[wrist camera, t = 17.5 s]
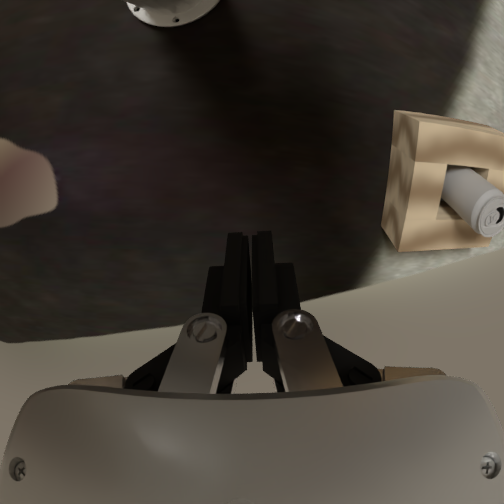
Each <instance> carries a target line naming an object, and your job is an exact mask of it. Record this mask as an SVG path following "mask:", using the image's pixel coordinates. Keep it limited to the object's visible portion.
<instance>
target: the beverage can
mask: <svg viewBox="0 0 504 504" xmlns="http://www.w3.org/2000/svg"><path fill="white" fill-rule="evenodd" d="M441 198H442V199H443V200H444V201H445V202H446V203H447V204H448V205H449V206H451V207H452V208H453V209H454V210H455V211H456V212H457V213H458V214H459V215H460V216H461V217H462V219H463V220H464V221H465V222H466V223H467V224H468V225H469V226H470V227H471V228H472V229H473V230H474V231H475V232H476V233H478V234H482V235H483V236H484V237H492V236H495V235H496V234H498V233H499V232H500V231H501V230H502V229H503V228H504V194H503V193H502V192H501V191H500V190H499V189H498V188H496V187H495V186H494V185H492V184H491V183H490V182H488V181H487V180H486V179H484V178H483V177H482V176H480V175H479V174H478V173H476V172H475V171H473V170H472V169H471V168H469V167H468V166H461V165H451V164H447V169H446V174H445V179H444V185H443V190H442V194H441Z"/></svg>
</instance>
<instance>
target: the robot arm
mask: <svg viewBox="0 0 504 504" xmlns="http://www.w3.org/2000/svg"><path fill="white" fill-rule="evenodd" d="M123 1H125V2H126V3H127V5H128V8H129V9H130V11H131V12H132V13H133V15H135V16H136V17H137V18H138V19H139V20H141V21H143V22H145V23H147V24H151V25H154V26H159V27H176V26H182V25H185V24H189V23H191V22H193V21H196V20H198V19H200V18H201V17H203V16H204V15H206V14H208V13H209V12H210V11H211V10H212V9H213V8H214V7H215V6H216V5H217V4H218V2H219V1H220V0H123ZM139 8H140V10H139V11H138V9H139ZM176 19H179V22H176ZM257 233H258V235H252V281H251V268H250V256H249V243H248V236H243V234H242V232H238V233H228V238H227V246H226V255H225V263H224V266H212V267H209V272H208V277H207V283H206V289H205V295H204V301H203V307H202V313H201V314H197V315H195V316H193V317H191V318H190V319H188V320H187V321H186V322H185V324H184V326H183V328H182V330H181V333H180V335H179V338H178V340H177V343H176V344H174V345H172V346H171V347H169V348H168V349H167V350H165V351H164V352H162V353H161V354H159V355H158V356H156V357H155V358H153V359H152V360H150V361H149V362H147V363H146V364H144V365H143V366H141V367H140V368H138V369H137V370H135V371H134V372H133V373H131V374H130V375H129V377H124V376H123V375H114V376H105V377H96V378H85V379H77V380H73V381H72V382H70V383H69V384H68V385H60V386H54V387H49V388H45V389H43V390H40V391H38V392H35V393H34V394H32V395H31V396H30V397H29V398H28V399H27V400H26V402H25V403H24V404H23V406H22V408H21V410H20V412H19V414H18V416H17V418H16V420H15V423H14V425H13V428H12V430H11V433H10V436H9V439H8V442H7V445H6V449H5V452H4V456H3V460H2V463H1V468H0V504H504V431H503V428H502V425H501V423H500V420H499V418H498V415H497V413H496V411H495V409H494V407H493V405H492V403H491V401H490V399H489V398H488V396H487V394H486V393H485V392H484V391H483V389H482V388H481V387H480V386H479V385H477V384H476V383H474V382H472V381H470V380H467V379H464V378H460V377H454V376H447V375H446V374H445V373H444V372H443V371H441V370H440V369H436V368H417V367H416V368H415V367H390V366H385V367H384V369H377V368H376V367H375V366H374V365H372V364H371V363H369V362H368V361H366V360H364V359H362V358H361V357H359V356H357V355H355V354H354V353H352V352H350V351H349V350H347V349H345V348H343V347H342V346H340V345H339V344H337V343H335V342H333V341H332V340H330V339H328V338H326V337H325V336H323V335H322V332H321V330H320V327H319V325H318V322H317V320H316V319H315V317H314V316H313V315H311V314H310V313H308V312H306V311H304V310H301V307H300V301H299V295H298V289H297V283H296V277H295V272H294V266H293V263H276V264H275V263H274V253H273V243H272V233H271V231H257ZM252 307H253V320H254V332H255V343H256V355H257V362H263V371H264V372H266V373H267V374H269V375H270V376H271V377H273V384H274V388H275V392H276V393H253V394H234V393H235V388H236V384H237V377H238V376H239V375H241V374H242V373H243V372H244V371H245V370H247V362H252Z"/></svg>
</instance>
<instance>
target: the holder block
mask: <svg viewBox="0 0 504 504" xmlns="http://www.w3.org/2000/svg"><path fill="white" fill-rule="evenodd" d="M447 164H451V165H461V166H468V167H469V168H471V169H472V170H473V171H475V172H476V173H478V174H479V175H480V176H482V177H483V178H484V179H486V180H487V181H488V182H490V183H491V184H492V185H494V186H495V187H496V188H498V189H499V190H500V191H501V192H502V193H503V194H504V133H502V132H500V131H498V130H496V129H494V128H492V127H489V126H487V125H483V124H478V123H474V122H469V121H464V120H459V119H454V118H448V117H442V116H436V115H430V114H423V113H416V112H408V111H400V110H394V122H393V135H392V146H391V156H390V165H389V174H388V182H387V189H386V196H385V203H384V210H383V216H382V222H381V226H382V228H383V229H384V231H385V232H386V234H387V235H388V237H389V239H390V240H391V242H392V243H393V245H394V247H395V248H396V250H397V251H398V252H408V251H425V250H442V249H458V248H474V247H488V246H489V244H490V241H491V238H492V237H484V236H483V235H482V234H478V233H476V232H475V231H474V230H473V229H472V228H471V227H470V226H469V225H468V224H467V223H466V222H465V221H464V220H463V219H462V217H461V216H460V215H459V214H458V213H457V212H456V211H455V210H454V209H453V208H452V207H451V206H449V205H448V204H447V203H446V202H445V201H440V199H441V194H442V190H443V185H444V179H445V174H446V169H447Z"/></svg>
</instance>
